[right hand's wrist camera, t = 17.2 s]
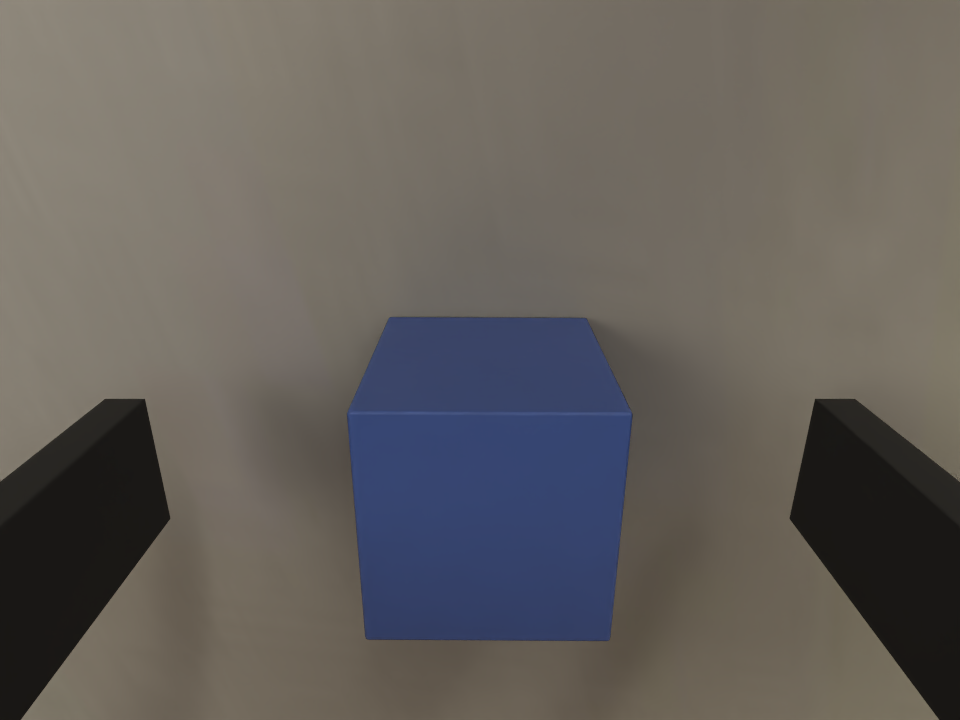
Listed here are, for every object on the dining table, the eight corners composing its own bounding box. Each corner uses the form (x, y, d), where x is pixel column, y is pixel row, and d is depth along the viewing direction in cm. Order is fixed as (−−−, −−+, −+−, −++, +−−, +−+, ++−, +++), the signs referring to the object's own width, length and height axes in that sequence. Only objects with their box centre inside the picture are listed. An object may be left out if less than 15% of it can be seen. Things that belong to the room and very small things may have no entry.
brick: (575, 493, 16) (610, 642, 11) (397, 492, 16) (365, 641, 11) (586, 317, 14) (634, 413, 10) (388, 316, 14) (346, 412, 10)
